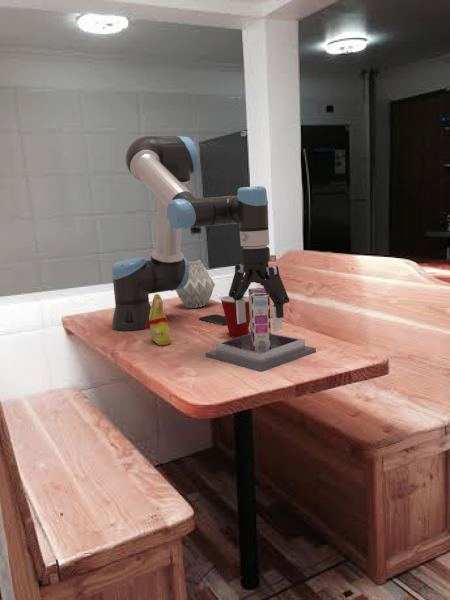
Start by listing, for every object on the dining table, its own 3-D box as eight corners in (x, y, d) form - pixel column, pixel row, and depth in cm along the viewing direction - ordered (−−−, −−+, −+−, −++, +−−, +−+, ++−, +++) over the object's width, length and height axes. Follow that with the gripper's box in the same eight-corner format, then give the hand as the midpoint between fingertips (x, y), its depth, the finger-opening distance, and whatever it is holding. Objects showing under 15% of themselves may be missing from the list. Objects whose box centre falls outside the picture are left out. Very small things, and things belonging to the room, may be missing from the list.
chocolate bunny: (163, 337, 169) (159, 290, 167) (174, 344, 160) (170, 295, 157) (142, 340, 167) (137, 293, 164) (152, 348, 157) (148, 298, 154)
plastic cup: (262, 336, 163) (260, 297, 161) (229, 341, 160) (226, 301, 157) (249, 328, 173) (247, 292, 171) (217, 333, 170) (215, 296, 167)
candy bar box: (272, 356, 139) (270, 293, 136) (253, 357, 139) (250, 295, 135) (268, 344, 150) (265, 286, 147) (250, 345, 150) (247, 288, 146)
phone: (215, 314, 195) (241, 319, 183) (215, 317, 195) (241, 323, 183) (197, 317, 190) (222, 324, 179) (197, 321, 191) (222, 327, 179)
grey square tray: (206, 356, 145) (205, 344, 145) (260, 339, 159) (259, 328, 158) (261, 371, 130) (260, 357, 129) (315, 351, 143) (315, 339, 143)
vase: (224, 304, 216) (221, 258, 212) (194, 312, 204) (191, 264, 201) (196, 301, 227) (193, 257, 223) (167, 308, 215) (163, 262, 212)
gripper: (213, 247, 146) (218, 322, 150) (280, 249, 127) (284, 336, 131) (233, 244, 151) (237, 317, 155) (301, 246, 132) (304, 329, 136)
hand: (259, 326), depth 143 cm, fingers open, 13 cm apart
